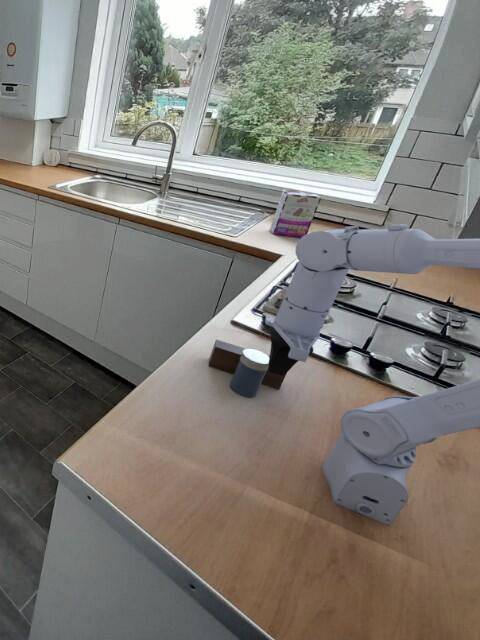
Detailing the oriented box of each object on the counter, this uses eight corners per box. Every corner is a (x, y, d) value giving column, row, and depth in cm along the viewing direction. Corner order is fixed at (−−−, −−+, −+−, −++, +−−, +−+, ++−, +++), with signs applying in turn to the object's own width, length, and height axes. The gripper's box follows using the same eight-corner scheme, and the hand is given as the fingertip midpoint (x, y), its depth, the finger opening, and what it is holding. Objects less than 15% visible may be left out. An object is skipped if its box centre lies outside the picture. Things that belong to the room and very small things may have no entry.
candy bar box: (300, 234, 161) (316, 193, 154) (305, 238, 157) (322, 197, 150) (268, 230, 164) (282, 190, 157) (272, 234, 160) (287, 193, 153)
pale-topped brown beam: (277, 394, 78) (288, 369, 75) (206, 370, 83) (215, 346, 81) (276, 385, 80) (287, 361, 78) (207, 362, 86) (216, 339, 83)
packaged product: (289, 275, 115) (333, 290, 108) (283, 290, 117) (326, 305, 110) (267, 294, 104) (314, 311, 97) (260, 310, 106) (306, 328, 99)
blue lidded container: (251, 409, 76) (269, 390, 69) (224, 400, 78) (239, 380, 71) (256, 370, 80) (274, 348, 73) (231, 362, 82) (245, 340, 75)
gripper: (272, 278, 71) (247, 342, 77) (279, 315, 60) (249, 387, 65) (323, 289, 68) (293, 355, 73) (340, 331, 56) (303, 405, 62)
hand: (275, 371), depth 69 cm, fingers closed
